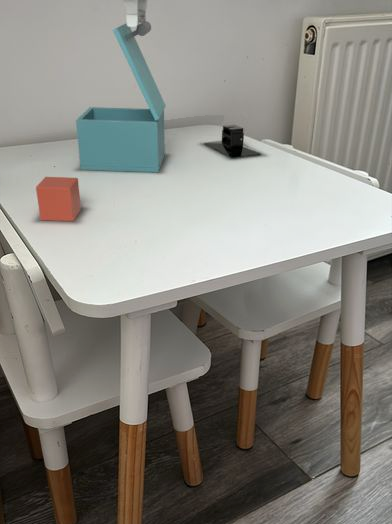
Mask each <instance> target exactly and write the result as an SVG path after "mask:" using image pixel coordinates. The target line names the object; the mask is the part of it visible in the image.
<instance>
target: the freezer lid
mask: <svg viewBox="0 0 392 524" xmlns="http://www.w3.org/2000/svg"><path fill="white" fill-rule="evenodd" d="M151 30H152V24H151V23H150V21H148V20H146V21H144V22H142V23H139V24H138V26H136V27H135V30H133V31H132V27H128V26H127V22H126V23H123V24H122V25H119V26H118V27H116V28H114V29H112V32H113V34H114V36H115V37H116V40H117V43H118V44H119V47H120V48H121V51H122V53H123V55H124V57H125V59H126V62H127V63H128V66H129V68H130V70H131V72H132V74H133V77H134V79H135V81H136V83H137V86H138V87H139V90H140V92H141V93H142V96H143V97H144V100H145V102H146V104H147V107H148V109H150V111H151V113H152V115H153V117H154V119H155V121H156V120H158V119H159V118H160V116H161V114H162V112H163V110H164V111H165V108H166V103H165V101H164V99H163V97H162V94H161V92H160V90H159V88H158V85H157V84H156V82H155V79H154V77H153V75H152V72H151V70H150V68H149V65H148V64H147V61H146V59H145V57H144V55H143V52H142V50H141V49H140V46H139V44H138V42H137V39H136V37H137V36H140V37H144V36H146V35H147V34H148V33H150V32H151Z"/></svg>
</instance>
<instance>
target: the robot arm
mask: <svg viewBox="0 0 392 524" xmlns="http://www.w3.org/2000/svg"><path fill="white" fill-rule="evenodd" d="M123 5H124V10H125V17H126V19H125V20H126V23H127V26H128V27H130V28H137V26H138V25H139V24H141V23H142V22H144V21H147V6H148V0H123Z"/></svg>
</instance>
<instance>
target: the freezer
mask: <svg viewBox="0 0 392 524" xmlns="http://www.w3.org/2000/svg"><path fill="white" fill-rule="evenodd" d="M75 124H76V134H77V144H78V157H79V164H80V170H81V171H106V172H107V171H108V172H110V171H111V172H133V173H134V172H138V173H139V172H141V173H159V171H160V169H161V167H162V163H163V161H164V158H165V156H166V153H165V150H166V147H165V144H166V143H165V109H164V110H163V112H162V114H161V116H160V118H159V119H158V120H156V121H155V119H154V117H153V115H152V113H151V111H150V108H134V107H133V108H131V107H128V108H127V107H102V106H101V107H99V106H98V107H95V106H89V107H88V108H87V110H85V111H84V112H83V113H82V114H80V116H79V117H78V118H77V119H75Z"/></svg>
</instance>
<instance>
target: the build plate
mask: <svg viewBox="0 0 392 524" xmlns="http://www.w3.org/2000/svg"><path fill="white" fill-rule="evenodd" d="M244 138H245V133H244V127H241V126H239V125H237V124H227V125H223V126H222V130H221V140H217V141H209V142H204V146H207V147H209V148H210V149H212V150H214V151H216V152H218V153H220V154H222V155H223V156H226V157H227V158H229V159H231V160H232V159H233V160H234V159H241V158H242V159H243V158H250V157H259V156H262V153H261V152H259V151H257V150H255V149H253V148H251V147H249V146H247V145H244V142H245V141H244Z"/></svg>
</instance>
